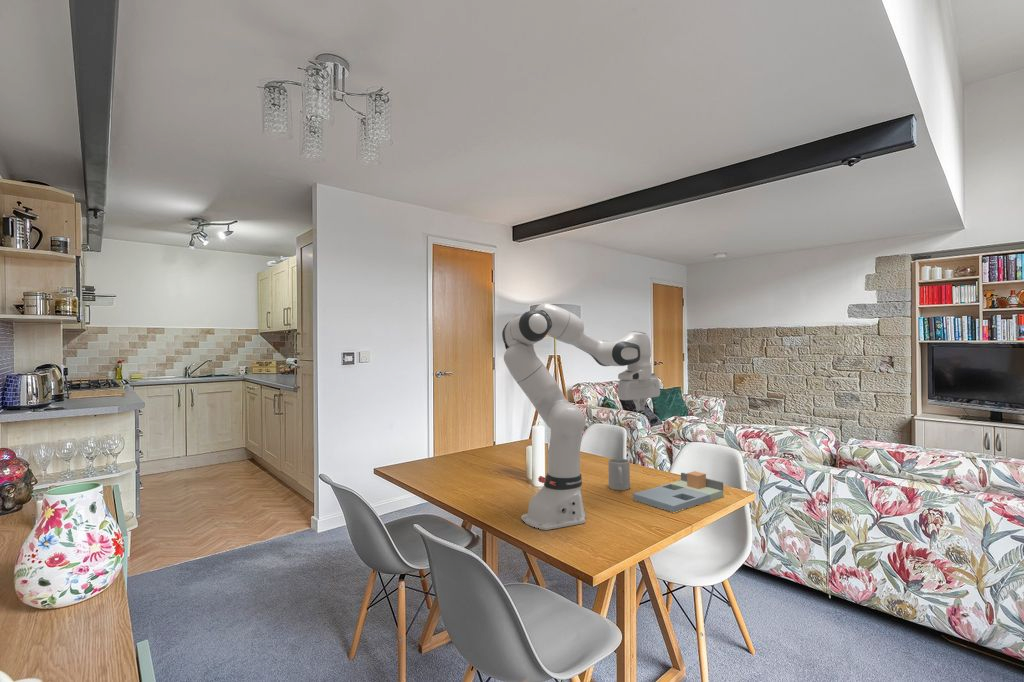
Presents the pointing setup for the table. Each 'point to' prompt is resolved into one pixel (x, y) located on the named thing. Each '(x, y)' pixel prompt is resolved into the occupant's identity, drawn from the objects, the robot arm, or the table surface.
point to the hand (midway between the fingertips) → (640, 410)
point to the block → (696, 480)
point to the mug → (619, 474)
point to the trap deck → (680, 494)
